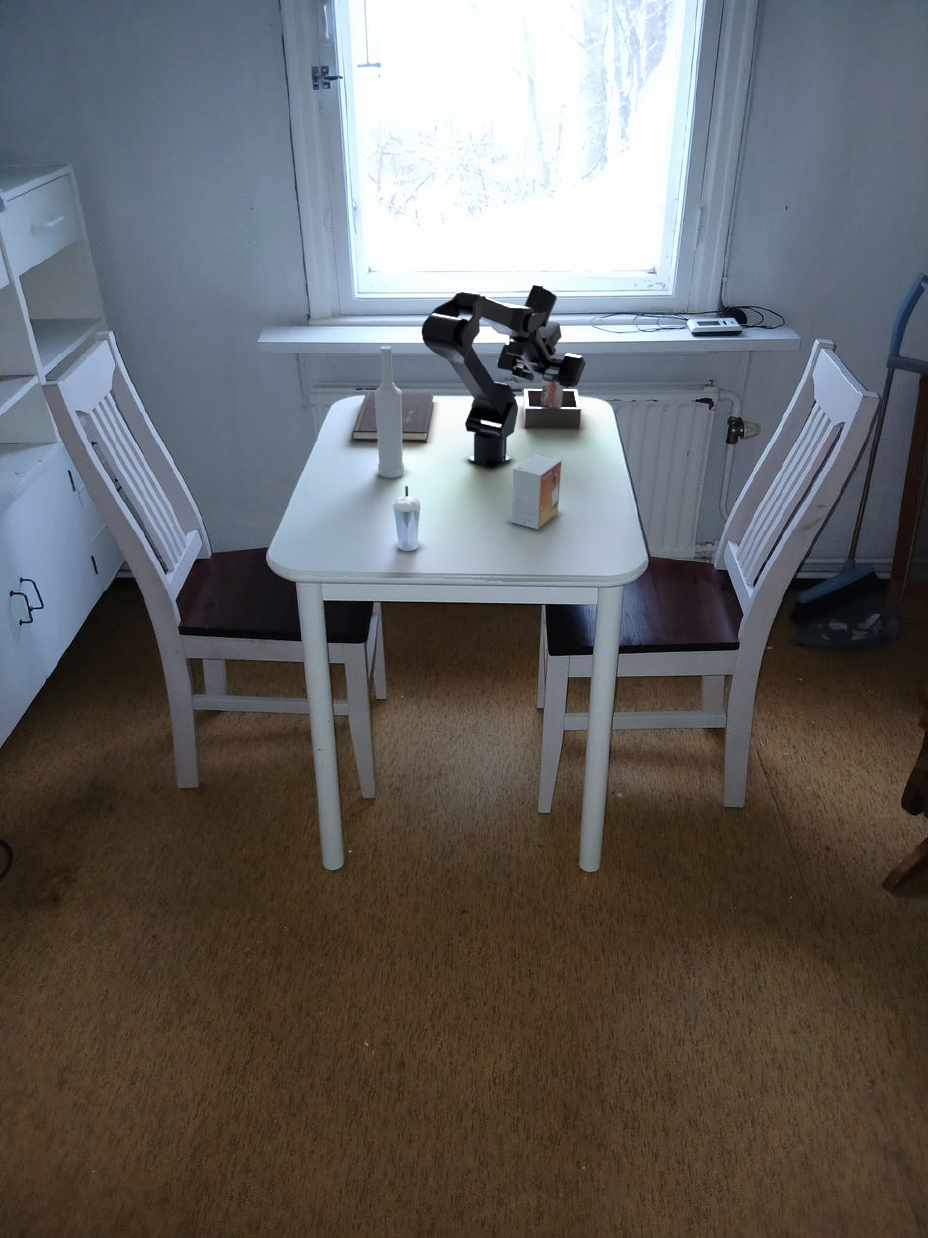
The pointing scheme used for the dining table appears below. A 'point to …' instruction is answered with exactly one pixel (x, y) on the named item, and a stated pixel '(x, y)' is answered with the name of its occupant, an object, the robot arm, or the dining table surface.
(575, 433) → the dining table surface
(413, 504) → the milkshake
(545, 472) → the small box
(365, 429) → the hardcover book
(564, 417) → the crate
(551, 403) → the beer can
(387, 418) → the bottle
